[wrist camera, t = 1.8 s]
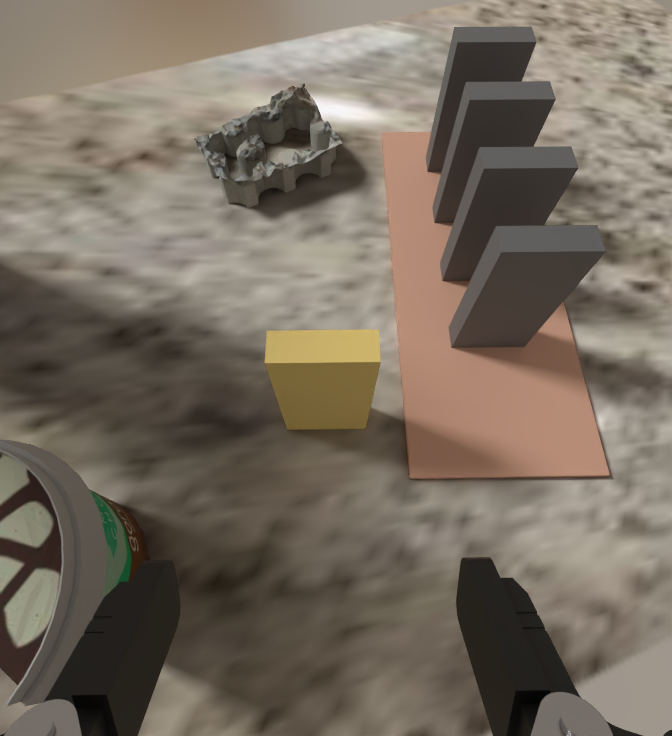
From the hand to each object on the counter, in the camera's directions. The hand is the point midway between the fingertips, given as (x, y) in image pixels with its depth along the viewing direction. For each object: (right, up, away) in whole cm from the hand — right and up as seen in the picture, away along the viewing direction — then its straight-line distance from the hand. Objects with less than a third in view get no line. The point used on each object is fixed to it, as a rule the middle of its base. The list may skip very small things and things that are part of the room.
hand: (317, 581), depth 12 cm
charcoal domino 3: (+11, +13, +20) cm, 27 cm away
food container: (-13, -4, +13) cm, 19 cm away
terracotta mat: (+11, +13, +21) cm, 27 cm away
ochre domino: (0, +3, +16) cm, 16 cm away
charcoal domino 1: (+11, +23, +25) cm, 36 cm away
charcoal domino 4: (+11, +8, +18) cm, 23 cm away
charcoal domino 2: (+11, +18, +23) cm, 31 cm away
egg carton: (-5, +23, +26) cm, 35 cm away
